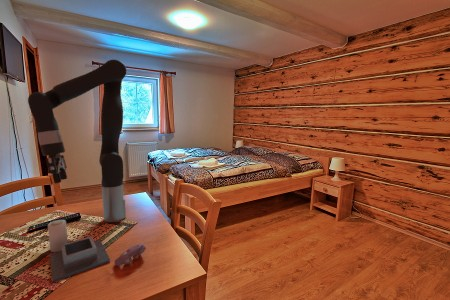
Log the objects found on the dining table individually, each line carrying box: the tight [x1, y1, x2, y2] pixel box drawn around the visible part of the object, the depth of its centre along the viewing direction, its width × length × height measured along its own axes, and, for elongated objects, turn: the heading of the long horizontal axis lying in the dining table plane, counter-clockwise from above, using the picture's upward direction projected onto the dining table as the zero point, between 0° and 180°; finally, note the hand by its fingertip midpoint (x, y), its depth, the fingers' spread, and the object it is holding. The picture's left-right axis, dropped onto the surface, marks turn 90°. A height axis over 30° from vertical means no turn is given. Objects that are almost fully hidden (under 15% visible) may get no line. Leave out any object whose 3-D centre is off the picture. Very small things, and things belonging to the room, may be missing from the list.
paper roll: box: [47, 219, 69, 253], centre depth 86 cm, size 6×6×10 cm
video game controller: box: [114, 243, 147, 267], centre depth 79 cm, size 10×5×7 cm, turn 148°
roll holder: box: [49, 236, 111, 283], centre depth 79 cm, size 16×16×5 cm
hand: (61, 181), depth 94 cm, fingers open, 8 cm apart
